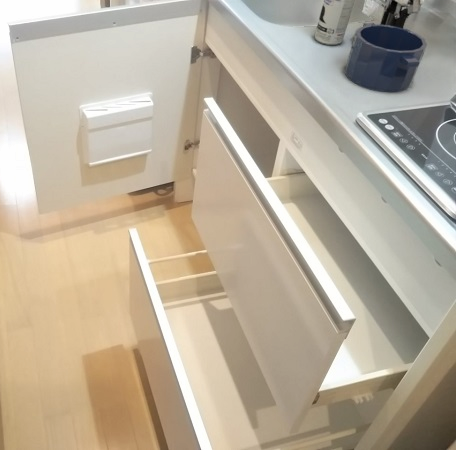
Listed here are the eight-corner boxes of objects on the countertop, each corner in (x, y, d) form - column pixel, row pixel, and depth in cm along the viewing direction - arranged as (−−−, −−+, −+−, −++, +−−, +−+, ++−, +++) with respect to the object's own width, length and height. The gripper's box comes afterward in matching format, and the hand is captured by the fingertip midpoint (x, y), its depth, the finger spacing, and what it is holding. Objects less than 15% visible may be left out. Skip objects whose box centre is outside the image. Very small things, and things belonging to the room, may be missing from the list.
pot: (385, 56, 118) (398, 18, 113) (430, 97, 105) (448, 57, 99) (329, 58, 116) (340, 20, 111) (368, 100, 103) (382, 59, 97)
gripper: (458, -45, 102) (423, 45, 115) (414, -66, 114) (387, 18, 127) (423, -45, 101) (392, 47, 114) (383, -66, 113) (358, 19, 126)
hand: (389, 31), depth 120 cm, fingers closed on pot lid, 2 cm apart
